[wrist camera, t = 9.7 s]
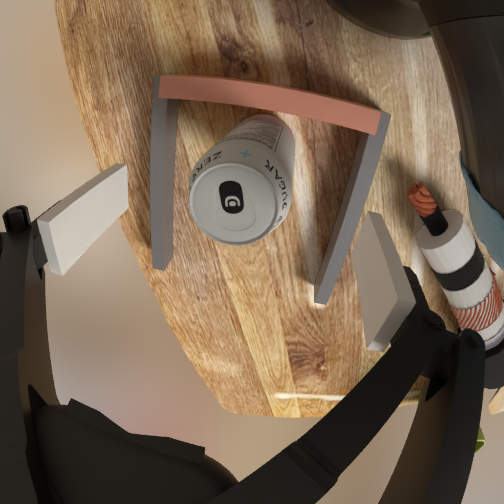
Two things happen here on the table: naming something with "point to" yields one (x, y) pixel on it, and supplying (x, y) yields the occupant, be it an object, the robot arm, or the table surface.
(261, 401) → the table surface
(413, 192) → the cable
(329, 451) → the robot arm
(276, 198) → the energy drink can
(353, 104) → the guide lane
